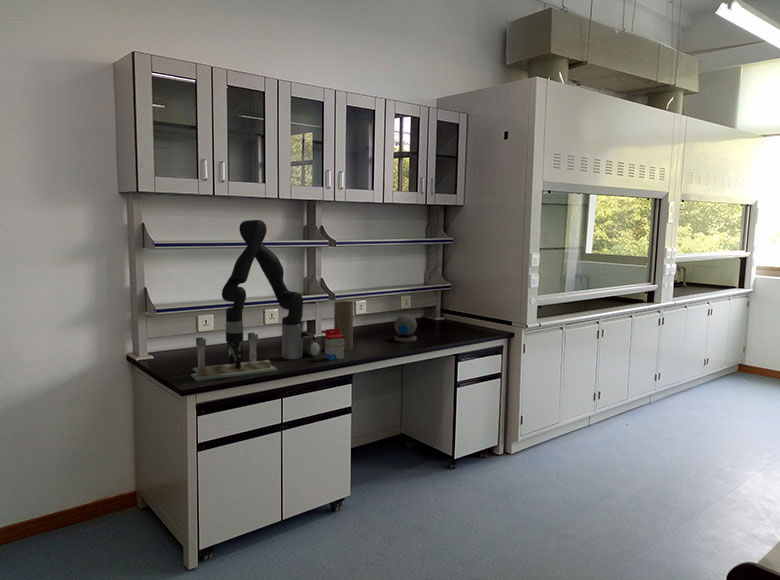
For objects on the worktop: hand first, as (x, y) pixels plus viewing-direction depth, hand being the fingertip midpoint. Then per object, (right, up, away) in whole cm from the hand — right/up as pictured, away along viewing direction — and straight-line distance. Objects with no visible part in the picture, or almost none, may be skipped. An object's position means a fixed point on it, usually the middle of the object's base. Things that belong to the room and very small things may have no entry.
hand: (235, 366), depth 262 cm
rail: (0, -2, 0) cm, 2 cm away
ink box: (+42, 0, +32) cm, 52 cm away
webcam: (+78, +5, +82) cm, 113 cm away
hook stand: (-6, -2, +9) cm, 11 cm away
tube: (+44, +2, +56) cm, 71 cm away
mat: (0, -3, 0) cm, 3 cm away
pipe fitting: (+27, +1, +39) cm, 48 cm away
